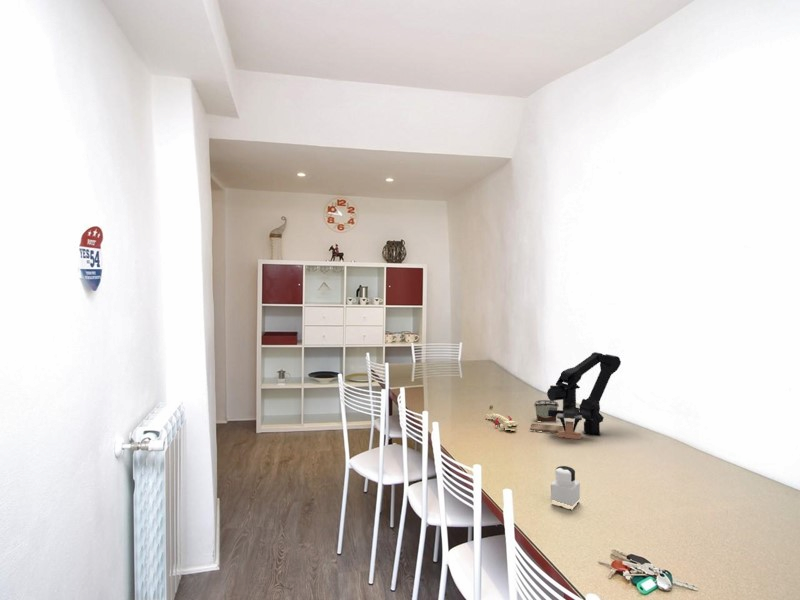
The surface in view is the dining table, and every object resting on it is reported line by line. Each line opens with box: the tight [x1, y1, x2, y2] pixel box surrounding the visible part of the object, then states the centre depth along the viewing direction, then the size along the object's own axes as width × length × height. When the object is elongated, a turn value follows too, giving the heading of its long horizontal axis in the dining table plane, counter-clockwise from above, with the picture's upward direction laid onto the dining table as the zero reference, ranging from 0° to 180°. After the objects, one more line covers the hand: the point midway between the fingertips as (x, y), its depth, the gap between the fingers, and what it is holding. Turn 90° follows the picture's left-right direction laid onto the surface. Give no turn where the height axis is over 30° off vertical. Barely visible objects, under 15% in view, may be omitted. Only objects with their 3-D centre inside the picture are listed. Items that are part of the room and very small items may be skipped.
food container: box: [533, 399, 560, 423], centre depth 245 cm, size 12×6×10 cm, turn 84°
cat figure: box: [485, 404, 519, 431], centre depth 238 cm, size 10×9×25 cm
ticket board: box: [529, 422, 564, 434], centre depth 229 cm, size 17×8×2 cm, turn 70°
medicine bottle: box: [550, 465, 581, 506], centre depth 156 cm, size 7×7×12 cm
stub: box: [557, 420, 582, 440], centre depth 220 cm, size 10×4×6 cm, turn 70°
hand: (569, 431), depth 220 cm, fingers closed on stub, 3 cm apart
